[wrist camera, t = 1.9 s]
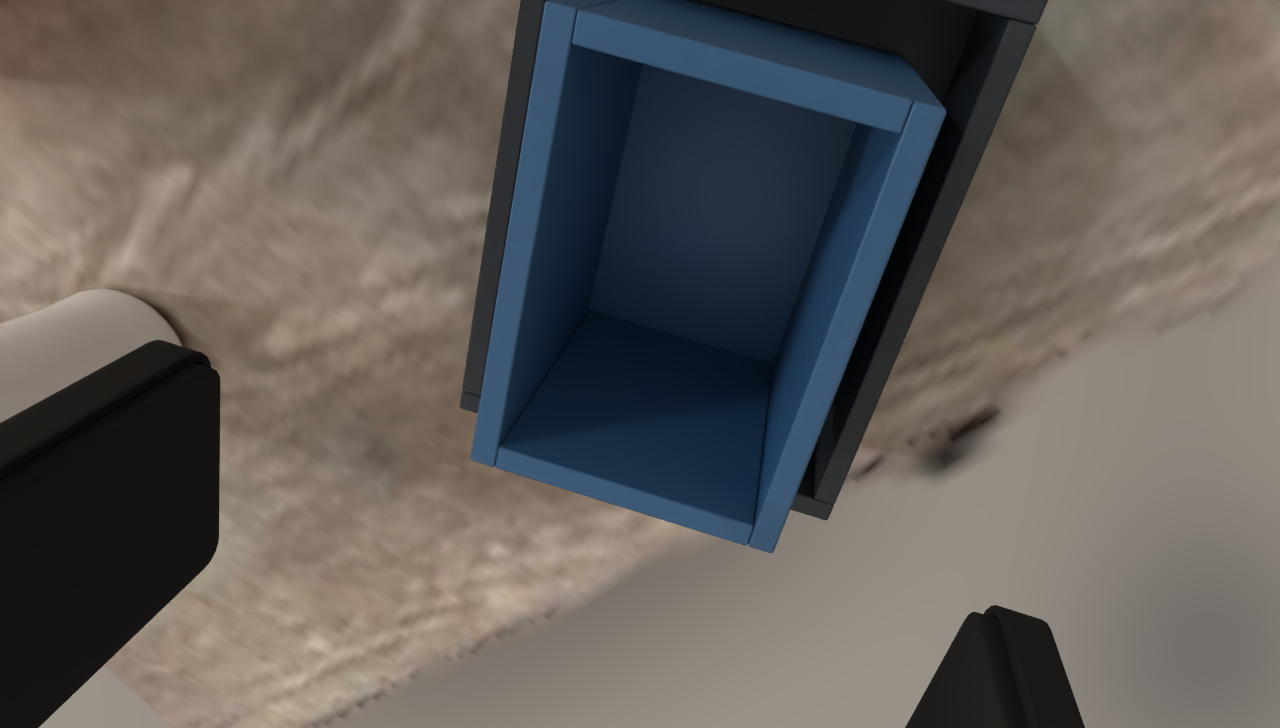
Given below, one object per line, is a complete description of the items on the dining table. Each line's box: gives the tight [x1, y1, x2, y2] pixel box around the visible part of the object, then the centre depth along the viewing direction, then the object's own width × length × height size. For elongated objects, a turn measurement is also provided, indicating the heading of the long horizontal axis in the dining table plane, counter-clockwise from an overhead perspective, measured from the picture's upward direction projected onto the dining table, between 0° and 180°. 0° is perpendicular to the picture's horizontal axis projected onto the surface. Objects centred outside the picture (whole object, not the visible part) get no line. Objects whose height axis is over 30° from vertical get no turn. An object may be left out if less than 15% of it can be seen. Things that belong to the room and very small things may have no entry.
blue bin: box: [471, 0, 946, 553], centre depth 21 cm, size 10×7×9 cm
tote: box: [460, 0, 1048, 520], centre depth 23 cm, size 14×11×5 cm
